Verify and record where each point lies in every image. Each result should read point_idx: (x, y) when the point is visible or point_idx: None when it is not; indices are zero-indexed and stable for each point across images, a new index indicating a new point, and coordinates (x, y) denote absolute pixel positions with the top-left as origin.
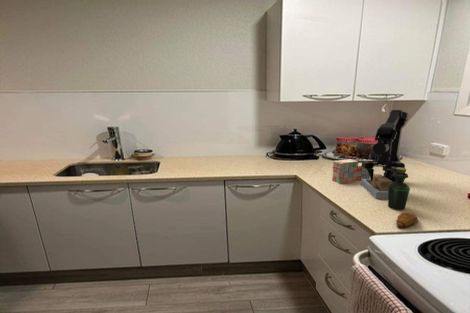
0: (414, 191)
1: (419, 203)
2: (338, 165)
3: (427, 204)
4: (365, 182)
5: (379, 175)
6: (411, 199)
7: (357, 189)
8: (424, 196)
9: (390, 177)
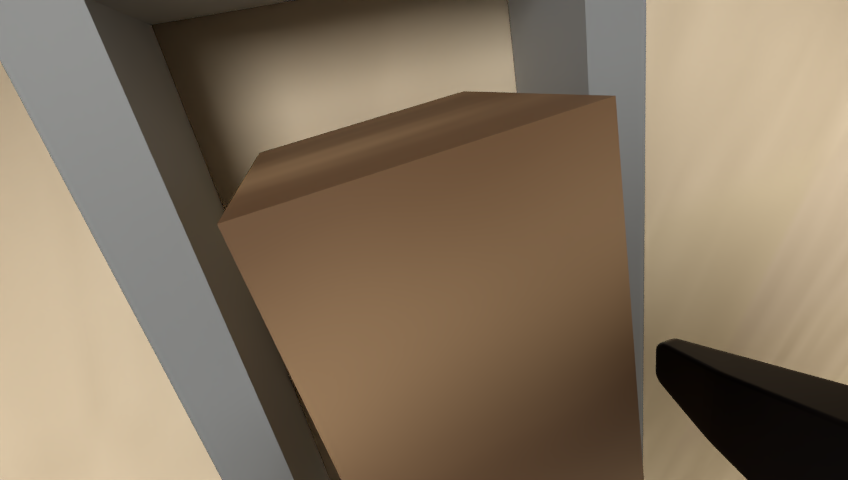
0: (828, 134)
1: (682, 476)
2: None
3: (727, 468)
4: (123, 292)
5: (531, 274)
6: (667, 414)
7: (26, 333)
8: (820, 279)
9: (737, 418)
